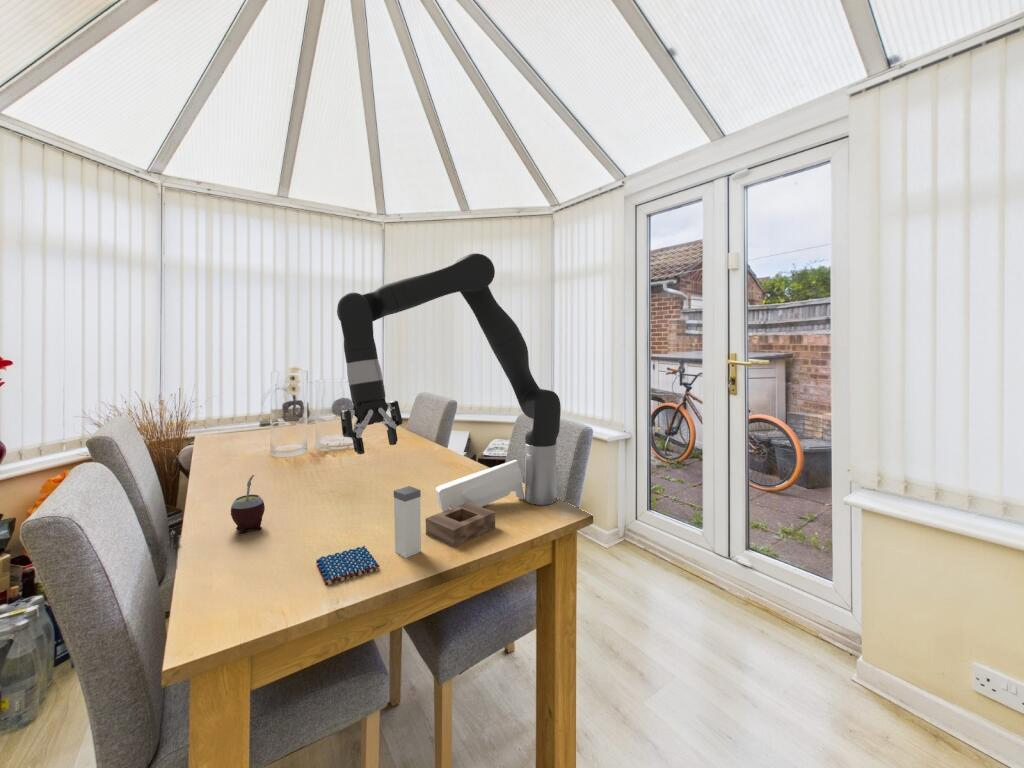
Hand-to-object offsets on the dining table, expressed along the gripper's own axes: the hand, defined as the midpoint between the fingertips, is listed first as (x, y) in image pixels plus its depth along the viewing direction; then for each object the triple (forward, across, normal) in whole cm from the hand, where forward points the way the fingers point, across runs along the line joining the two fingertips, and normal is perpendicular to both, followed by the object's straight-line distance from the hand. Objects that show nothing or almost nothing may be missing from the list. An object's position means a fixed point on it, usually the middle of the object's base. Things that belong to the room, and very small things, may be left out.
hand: (377, 449), depth 98 cm
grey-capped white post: (+23, -2, -8) cm, 24 cm away
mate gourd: (+16, -20, +31) cm, 40 cm away
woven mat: (+22, -14, -4) cm, 26 cm away
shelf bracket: (+25, +29, -1) cm, 38 cm away
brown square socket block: (+24, +13, -9) cm, 29 cm away
